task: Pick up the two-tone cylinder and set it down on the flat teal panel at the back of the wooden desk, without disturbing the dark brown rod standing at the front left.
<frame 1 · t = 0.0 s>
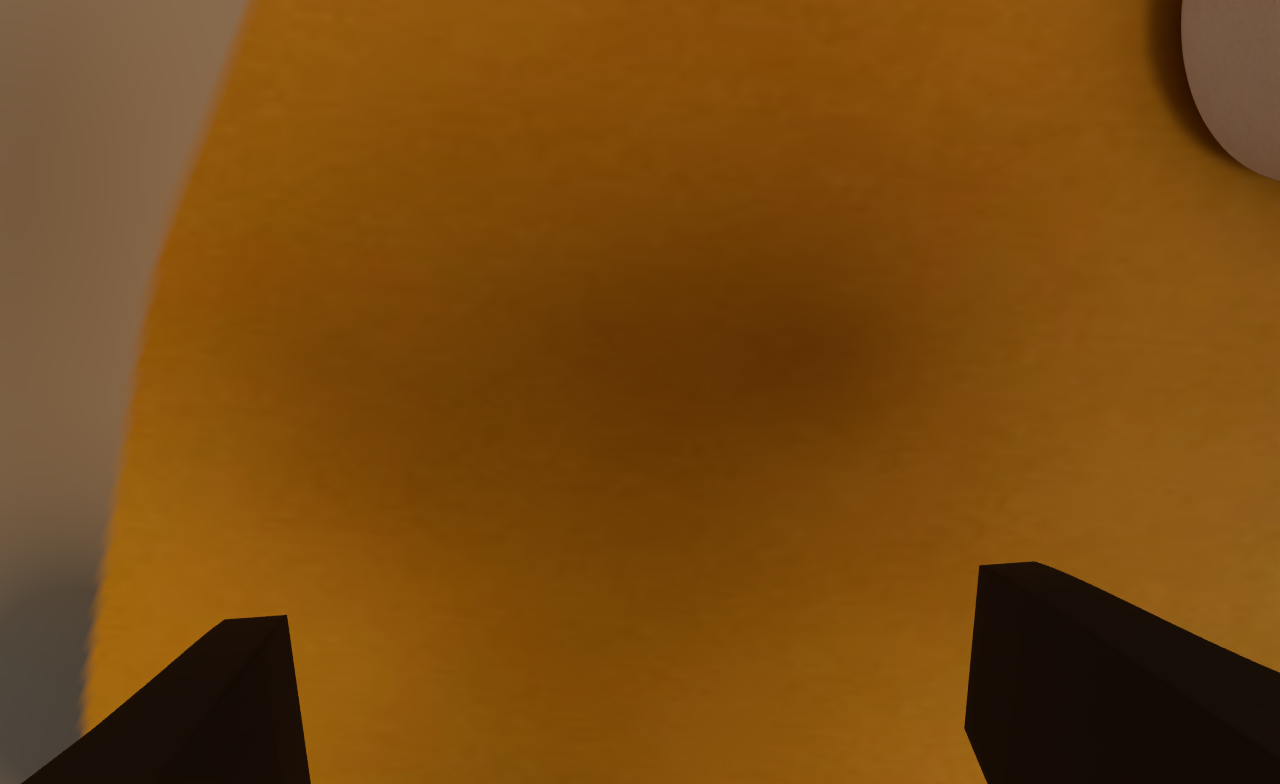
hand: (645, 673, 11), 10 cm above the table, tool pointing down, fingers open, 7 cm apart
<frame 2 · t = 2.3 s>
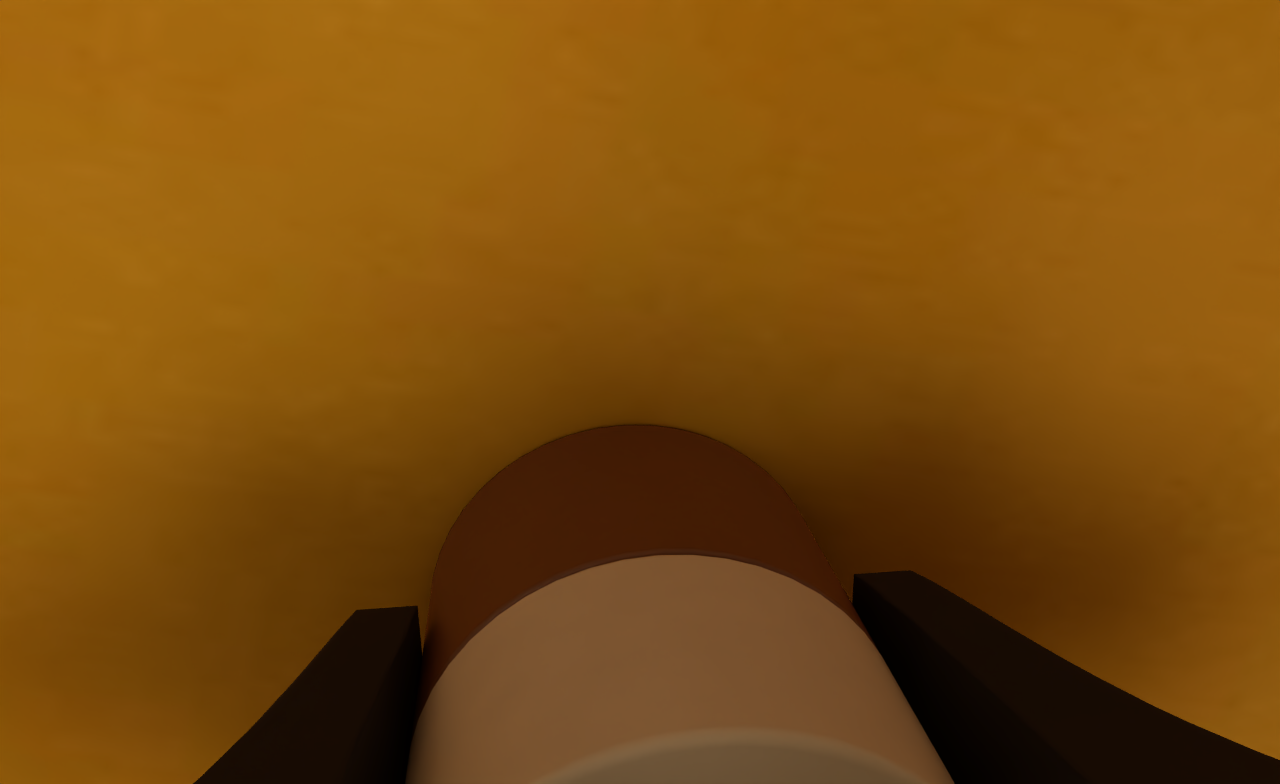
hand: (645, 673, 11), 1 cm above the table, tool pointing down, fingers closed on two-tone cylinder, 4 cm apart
two-tone cylinder: (627, 605, 13), on the table, touching gripper
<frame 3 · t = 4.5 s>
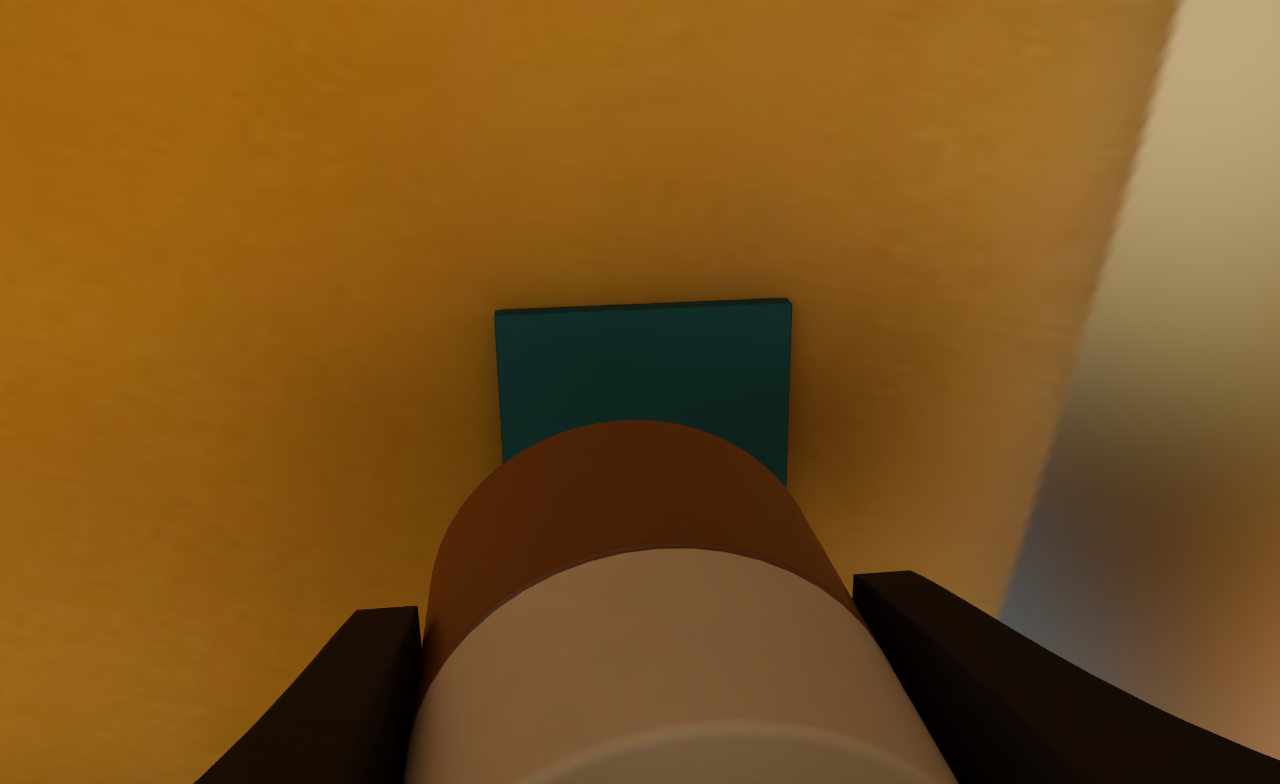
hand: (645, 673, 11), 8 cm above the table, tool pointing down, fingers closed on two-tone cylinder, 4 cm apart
two-tone cylinder: (627, 600, 13), point 7 cm above the table, touching gripper
flat teal panel: (645, 466, 20), on the table
when the fingers open (2 cm above the table, at t = 6.7 s): two-tone cylinder stays where it is, resting on flat teal panel.
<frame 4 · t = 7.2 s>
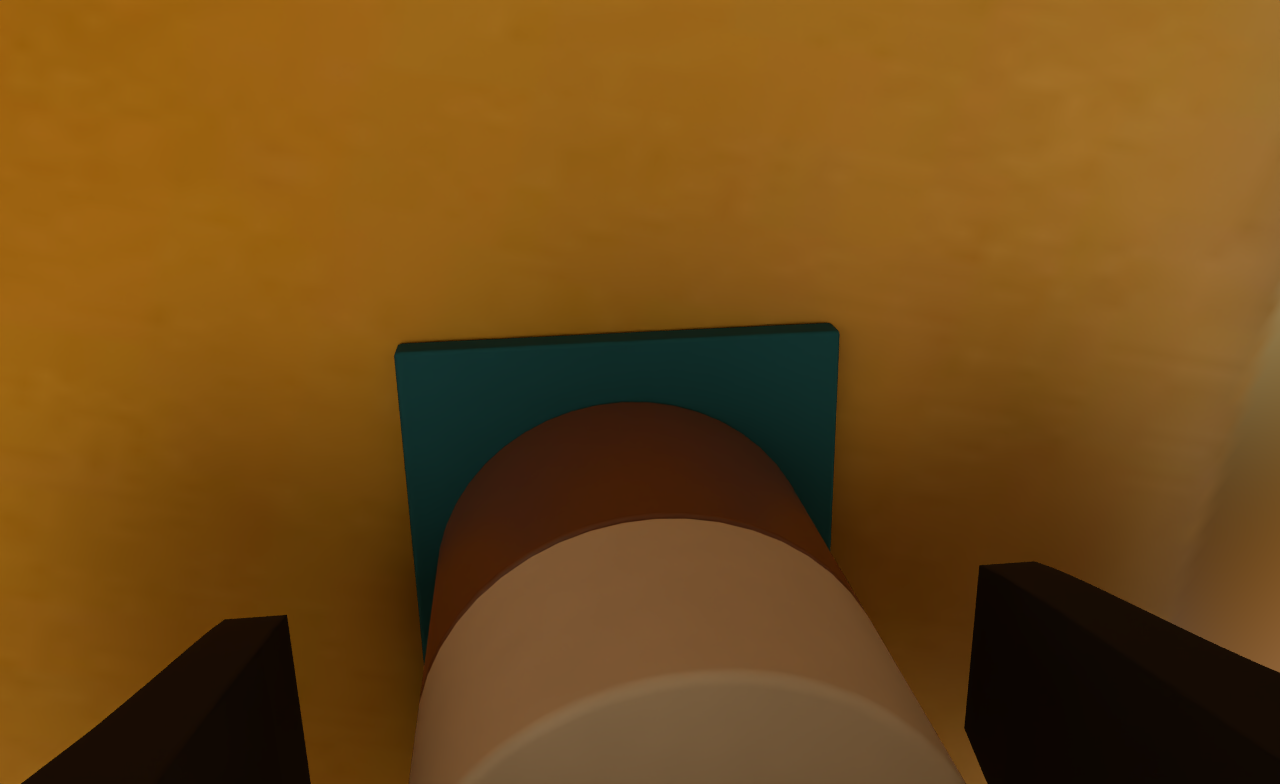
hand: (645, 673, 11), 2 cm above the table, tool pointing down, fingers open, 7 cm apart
two-tone cylinder: (627, 576, 13), resting on flat teal panel
flat teal panel: (624, 565, 14), on the table
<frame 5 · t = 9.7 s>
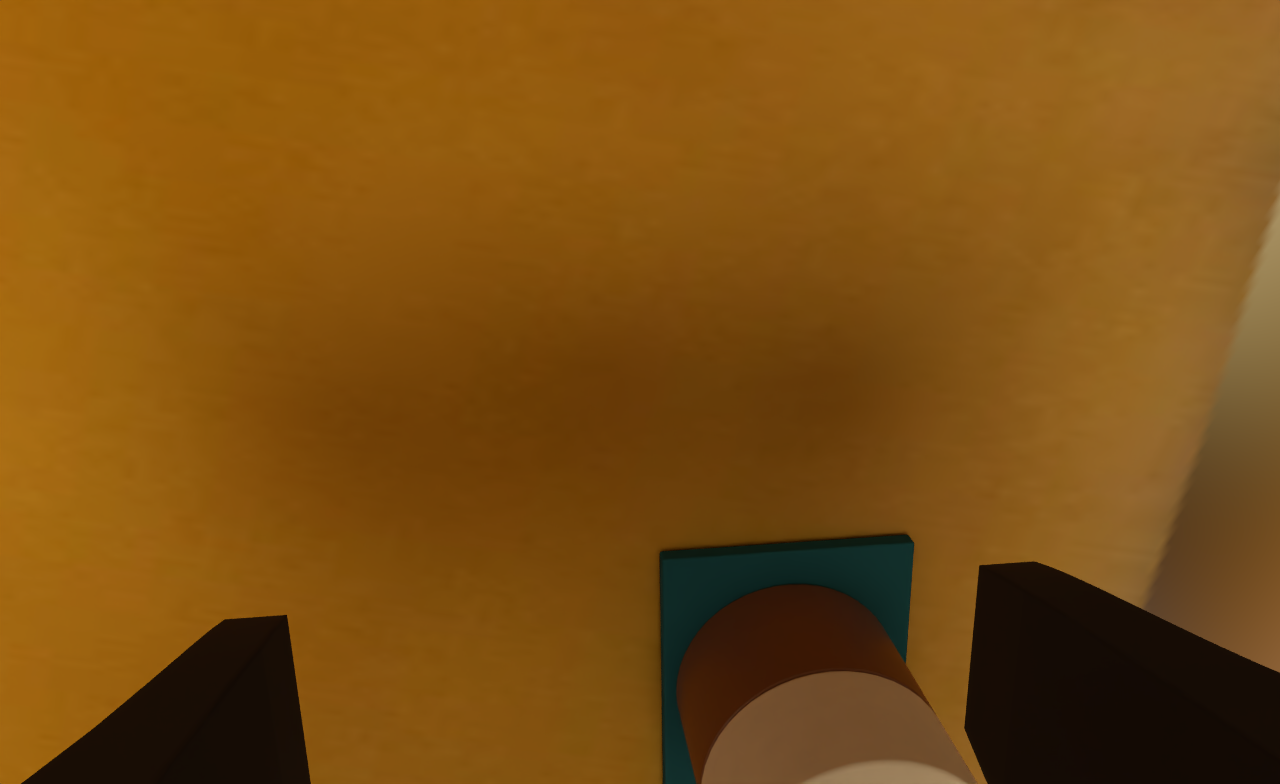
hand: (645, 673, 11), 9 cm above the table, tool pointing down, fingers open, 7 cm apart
two-tone cylinder: (785, 681, 22), resting on flat teal panel
flat teal panel: (781, 672, 23), on the table
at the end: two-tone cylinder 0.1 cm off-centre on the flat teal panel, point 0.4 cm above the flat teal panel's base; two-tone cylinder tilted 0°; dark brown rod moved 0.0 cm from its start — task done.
